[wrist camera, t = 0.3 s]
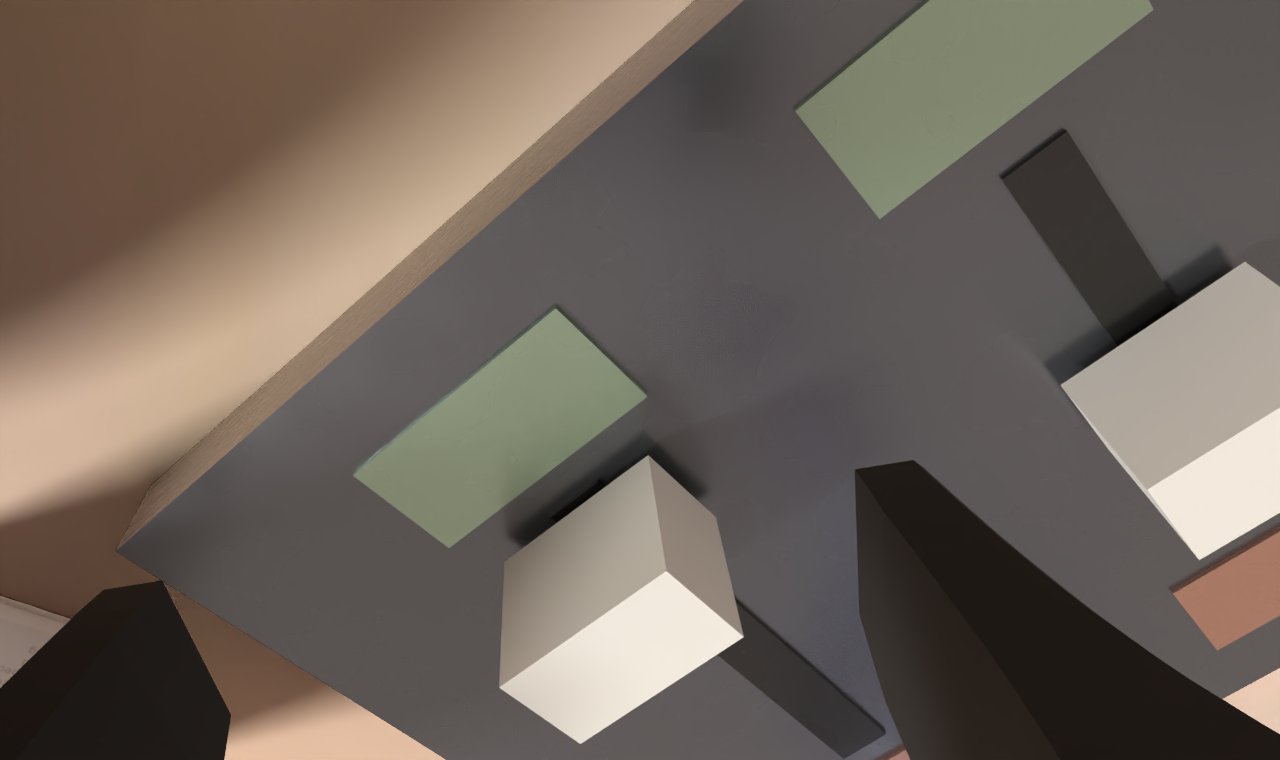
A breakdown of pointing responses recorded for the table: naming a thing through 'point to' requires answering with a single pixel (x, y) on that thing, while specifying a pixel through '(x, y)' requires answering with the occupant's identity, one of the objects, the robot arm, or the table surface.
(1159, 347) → the beige rectangular block
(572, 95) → the table surface
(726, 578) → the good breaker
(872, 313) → the breaker panel
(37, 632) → the syrup box
